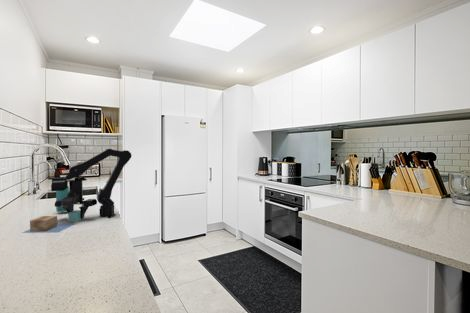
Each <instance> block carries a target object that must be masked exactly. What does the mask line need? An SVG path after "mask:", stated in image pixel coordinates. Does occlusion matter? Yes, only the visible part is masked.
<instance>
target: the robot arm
mask: <svg viewBox="0 0 470 313" xmlns="http://www.w3.org/2000/svg"><path fill="white" fill-rule="evenodd" d="M132 155H133V154H132V153H131V152H130V150H127V149H125V150H116V149H112V148H107V149H105V150H103V151H102V152H100V153H98V154H96V155H94V156H92V157H91V158H89V159H87V160H86V161H83V162H80V163H76V164H75V165H72V166H71V167H69V170H68V173H67V174H66V175H65V177H52V178H51V185H50V190H51V192H56V191H64V190H65V189H66V188H68V186H69V192H68V194H67V197H65V198H64V199H61V200H58V201H55V202H54V207H55V208H56V207H60V206H62V207H61V208H64V209H65V210H66V211H65V212H66V213H67V214H68V213H69V212H72V211H74V207H75V205H81V206H79V207H78V208H79V209H80V217H81V219H82V220H84V219H83V217H84V218H85V214H86V213H87V210H88V209H89V207H93V206H96V205H98V203H99V204H100V206H99V216H98V218H106V219H107V218H108V219H109V218H113V217H115V216H116V213H115V202H114V200H112V199H111V197H112V192H113V188H114V187H115V185H116V182H118V181H117V180H118V179H119V176H120V174H121V173H122V170H123V168H124V167H125V166H126V165H127V164H128V162H129V161H130V160H131V159H132ZM109 157H116V158H117V160H116V164H115V166H114V168H113V170H112V172H111V174H110V176H109V177H108V179H107V181H106V184H105V185H104V187H103V188H101V187H100V188H99V189H98V192H97V193H96V198H89V199H86V200H85V197H83V196H84V193H85V190H83V189H84V188H83V182H84V181H87V178H86V177H85V176H84V175H83V174H84V173H85V172H87V170H89V169H90V168H92V167H93V166H95V165H96V164H98V163H100V162H102V161H103V160H106V159H107V158H109ZM80 176H81V177H80ZM73 178H74V179H73ZM68 183H69V184H68Z"/></svg>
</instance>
